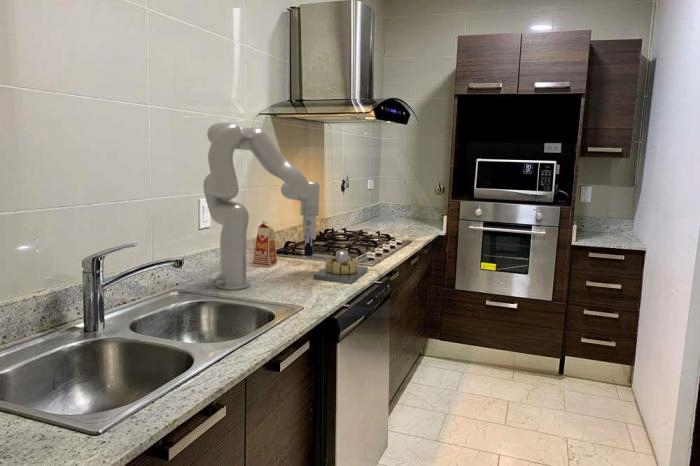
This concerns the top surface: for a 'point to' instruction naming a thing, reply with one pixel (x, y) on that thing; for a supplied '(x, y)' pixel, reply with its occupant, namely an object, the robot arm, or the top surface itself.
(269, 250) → the milk carton
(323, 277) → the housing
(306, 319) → the top surface
